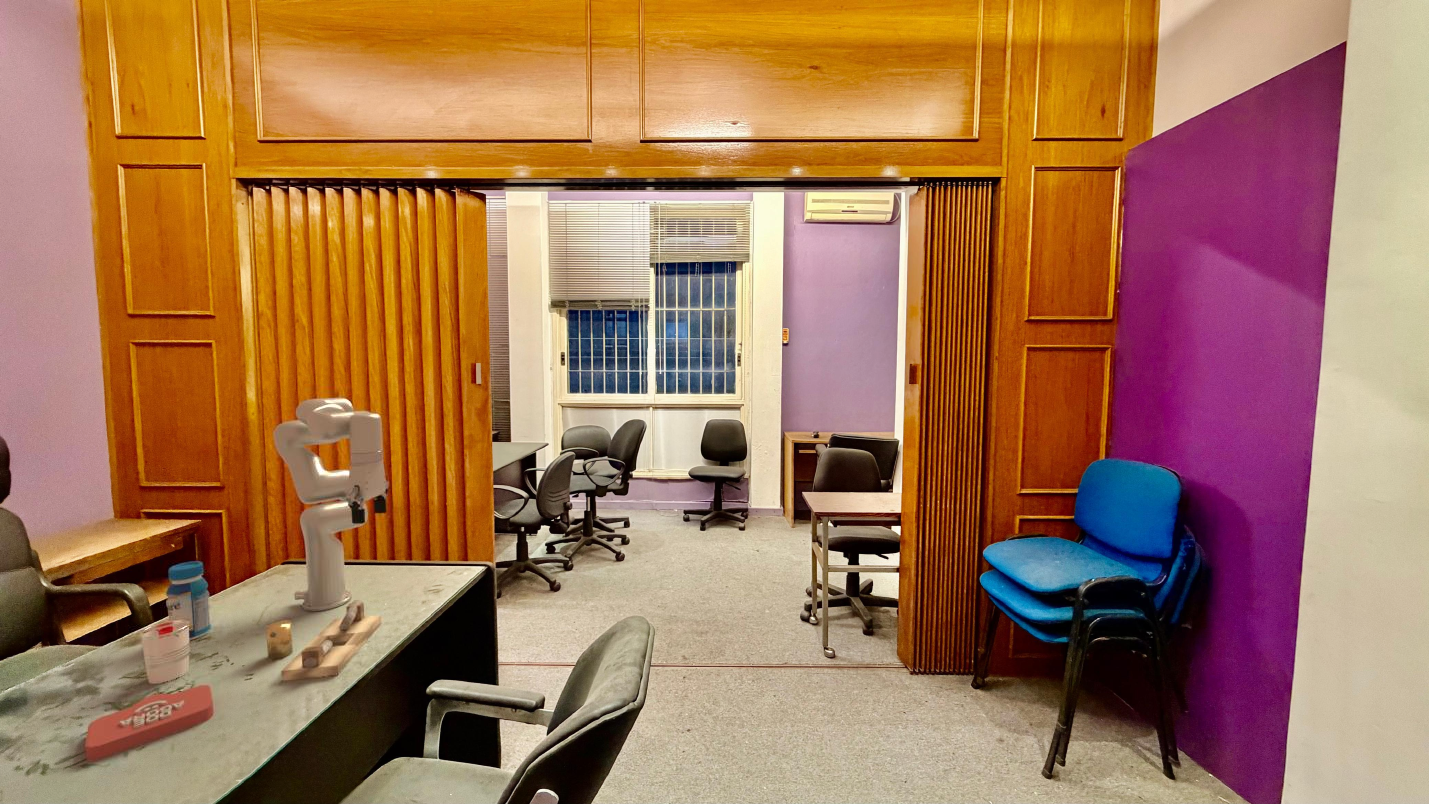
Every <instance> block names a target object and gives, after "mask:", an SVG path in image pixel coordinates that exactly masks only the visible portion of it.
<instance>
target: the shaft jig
mask: <svg viewBox="0 0 1429 804" xmlns="http://www.w3.org/2000/svg"><path fill="white" fill-rule="evenodd" d="M381 625H382V615H381V614H380V615H379V614H378V615H377V614H376V615H366V616H365V602H362V601H361V600H359V599H354V600H353V601H352V602H351V603H349V604H348V605H347V606H346V613H345V616H344V617H343V618H334V619H333V620H332V621H331V622H330V623H329V624H328V625H327V626H326V627H325V628H324V629H323V630H322V631H321V632H320V633H319V634H317V636H316V637H315V638H313V639H312V641H310V643H309V644H308V645H306V646H305V647H304V648H303V649H302V650H301V651H300V652H299V653H298V654H297V655H296V656H295V657H294V658H293V659H292V660H291V661H290V662H289V663H288V664H287V665H286V666H285V667H284V668H282V670H280V673H281V674H280V675H281V681H283V682H284V681H295V680H304V679H313V678H314V677H315V678H323V677H322V676H325V677H327V676H326V675H334V676H337V675H336V674H339V673H340V674H341V673H342V671H343V670H344V669H345V668H346V666H347V665H348V664H349V663H350V662H349V661H351V660H352V659H353V658H354V657H355V656H356V654H357V653H358V652H359V651H360V650H361V649H362V647H363V646H364V645H365V644H366V643H367V641H368V640H369V639H370V638H371V637H372V636H373V634H374V633H375V631H376V630H378V628H380V626H381ZM369 637H370V638H369ZM368 638H369V639H368ZM367 639H368V640H367ZM366 640H367V641H366ZM344 642H346V643H345V644H344ZM333 643H335V644H342V643H343V644H344V645H335V646H333V645H334V644H333ZM364 643H365V644H364ZM363 644H364V645H363ZM362 645H363V646H362ZM361 646H362V647H361ZM359 649H360V650H359ZM358 650H359V651H358ZM357 651H358V652H357ZM356 652H357V653H356ZM354 655H355V656H354ZM353 656H354V657H353ZM352 657H353V658H352ZM351 658H352V659H351ZM350 659H351V660H350ZM348 662H349V663H348ZM347 663H348V664H347ZM346 664H347V665H346ZM344 667H345V668H344ZM343 668H344V669H343ZM342 669H343V670H342ZM341 670H342V671H341ZM340 674H339V675H340Z"/></svg>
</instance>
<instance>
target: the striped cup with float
mask: <svg viewBox="0 0 1429 804" xmlns="http://www.w3.org/2000/svg"><path fill="white" fill-rule="evenodd" d="M189 624H190V621H189V620H173V621H169V620H168V621H164V622H162V623H158V624H154V625H152V626H149V627H148V628H146V629H144V630H142V631H141V632H140V633H139V637H141V642H142V649H143V659H144V663H145V664H144V665H145V669H146V676H147V682H148V683H149V684H152V685H156V684H164V683H163V682H165V683H168V682H171V680H172V681H174V680H177V679H179V678H181V677H183V676H184V674H185V673H186V674H188V672H189V670H190V640H189ZM186 674H185V675H186ZM182 675H183V676H182ZM178 677H179V678H178ZM176 678H177V679H176ZM173 679H174V680H173ZM167 681H168V682H167Z"/></svg>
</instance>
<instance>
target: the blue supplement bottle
mask: <svg viewBox="0 0 1429 804" xmlns="http://www.w3.org/2000/svg"><path fill="white" fill-rule="evenodd" d="M167 572H168V580H169V582H171V583H170V584H169V586H168V587H167V589H166V592H165V593H166V594H165V596H167V599H166V602H165V604H166V607H167V613H168V621H173V620H189V621H190V624H189V641H192V640H195V639H198V638H201V637H203V636H205V635H207V634H208V633H209V632H210V631H211V629H212V625H211V622H210V620H211V619H210V606H209V604H210V603H209V598H210V592H209V590H208V587H209V584H208V582H207V581H206V579H205V578H204V577H203V575H204V564H203V561H198V560H197V561H195V560H194V561H188V562H182V563H179V564H176V565H172V566H171V567H169V568H168V571H167Z"/></svg>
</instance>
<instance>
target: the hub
mask: <svg viewBox="0 0 1429 804" xmlns="http://www.w3.org/2000/svg"><path fill="white" fill-rule="evenodd" d="M265 631H266V650H267V651H266V652H267V660H269V661H278V660H282V659H285V658H287V657H289V656H291V654H292V655H293V653H294V652H293V651H294V650H293V648H294V647H293V634H292V633H293V632H292V621H290V620H278V621H276V622H274V623H270V624H269V625H268V626H266V628H265Z"/></svg>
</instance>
